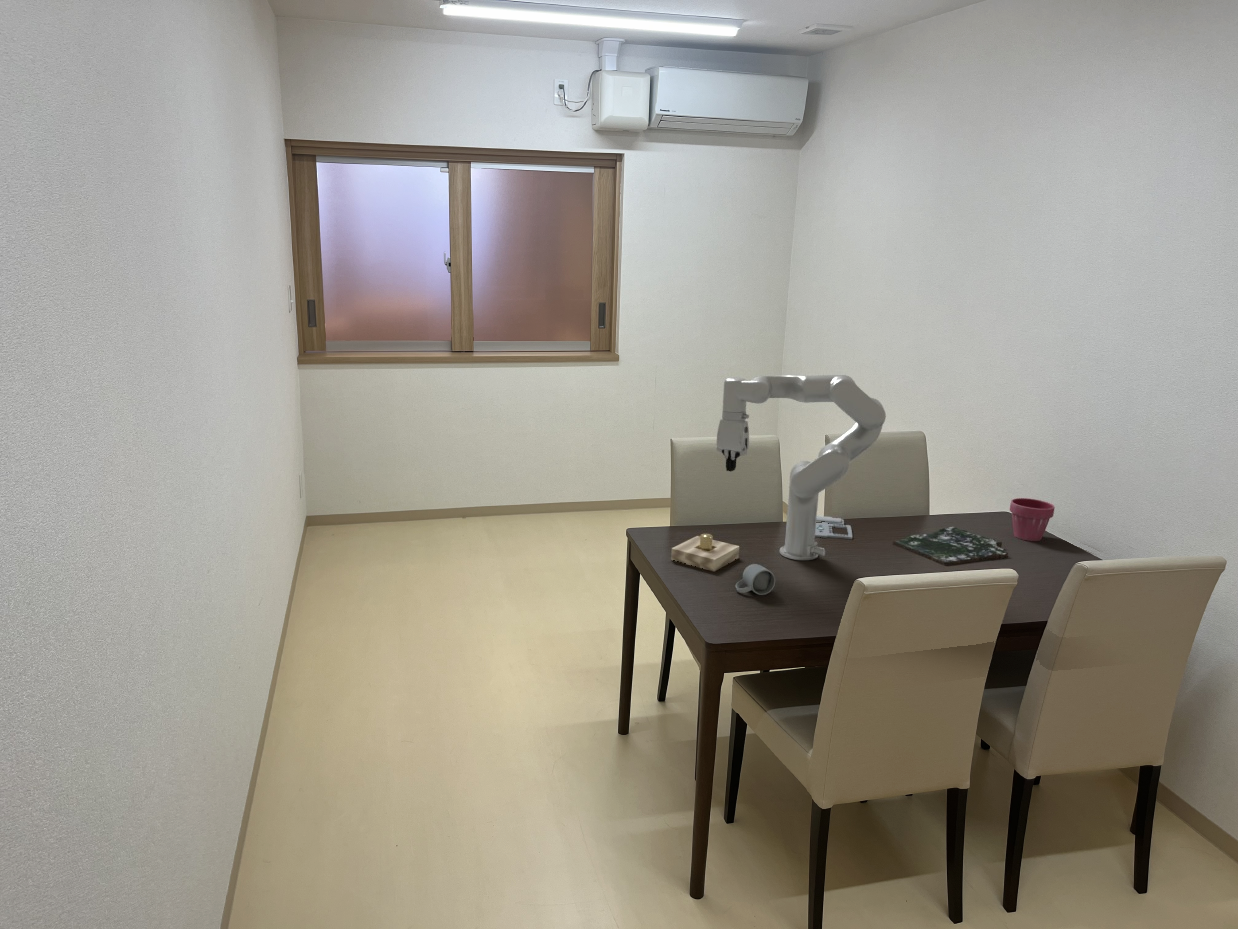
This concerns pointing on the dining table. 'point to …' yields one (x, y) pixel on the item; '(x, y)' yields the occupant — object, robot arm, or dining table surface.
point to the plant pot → (1030, 518)
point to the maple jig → (705, 554)
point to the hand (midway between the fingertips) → (730, 470)
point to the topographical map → (952, 546)
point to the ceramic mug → (756, 580)
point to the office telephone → (826, 529)
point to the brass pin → (706, 542)
